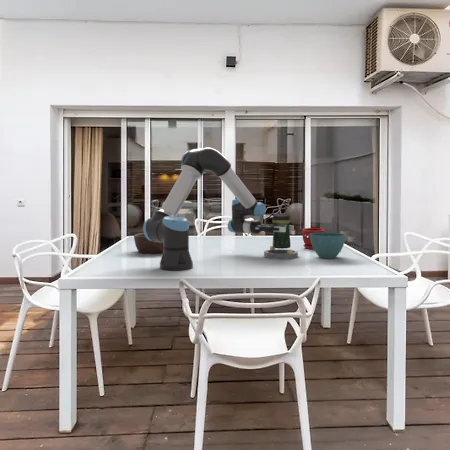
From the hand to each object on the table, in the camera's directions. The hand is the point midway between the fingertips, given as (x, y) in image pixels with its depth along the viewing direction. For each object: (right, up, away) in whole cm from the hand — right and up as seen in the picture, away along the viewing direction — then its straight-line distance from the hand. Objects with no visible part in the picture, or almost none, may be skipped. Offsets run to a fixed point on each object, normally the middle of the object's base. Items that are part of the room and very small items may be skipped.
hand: (289, 228), depth 211 cm
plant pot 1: (+20, -13, +33) cm, 41 cm away
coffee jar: (-4, -11, +4) cm, 12 cm away
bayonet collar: (-4, -15, +4) cm, 16 cm away
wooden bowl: (-75, -14, +25) cm, 80 cm away
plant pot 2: (+20, -15, 0) cm, 25 cm away
